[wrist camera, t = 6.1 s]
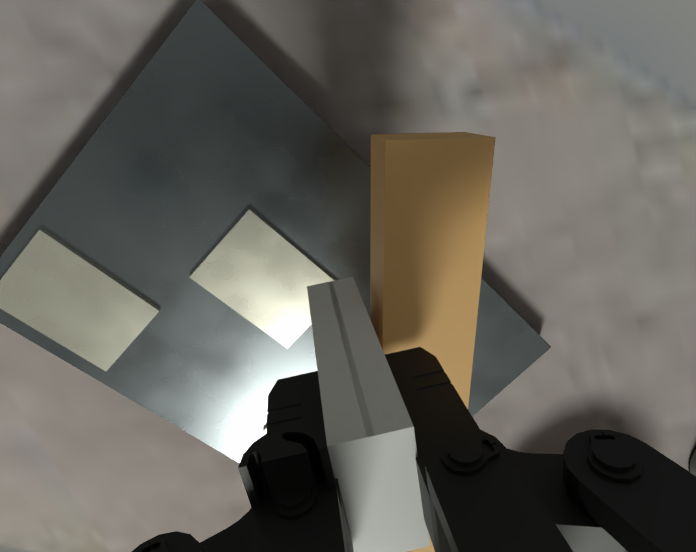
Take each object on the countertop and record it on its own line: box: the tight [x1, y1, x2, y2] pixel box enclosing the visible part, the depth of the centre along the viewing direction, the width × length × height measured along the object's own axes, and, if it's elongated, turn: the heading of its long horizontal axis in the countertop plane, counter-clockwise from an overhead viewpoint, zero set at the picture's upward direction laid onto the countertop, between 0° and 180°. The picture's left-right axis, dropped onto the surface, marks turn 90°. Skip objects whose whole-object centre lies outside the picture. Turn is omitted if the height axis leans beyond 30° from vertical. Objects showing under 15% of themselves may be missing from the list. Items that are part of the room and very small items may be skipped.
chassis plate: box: [0, 0, 551, 463], centre depth 19 cm, size 20×14×1 cm
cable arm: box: [370, 132, 495, 552], centre depth 15 cm, size 24×4×2 cm, turn 1°
